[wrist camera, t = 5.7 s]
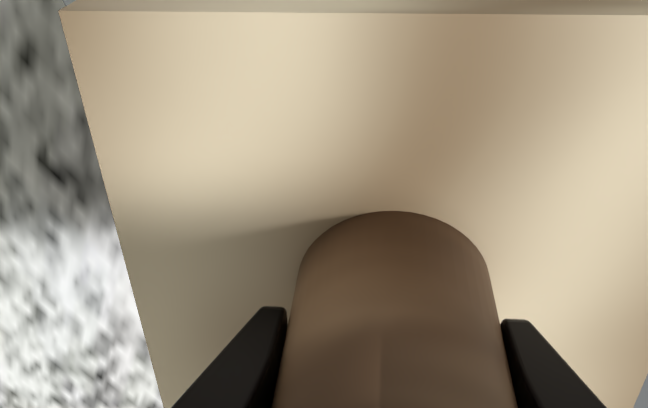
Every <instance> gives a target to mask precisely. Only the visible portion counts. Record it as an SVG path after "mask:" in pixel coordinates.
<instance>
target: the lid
mask: <svg viewBox="0 0 648 408" xmlns="http://www.w3.org/2000/svg"><path fill="white" fill-rule="evenodd" d="M58 12H59V16H60V19H61V23H62V27H63V31H64V34H65V38H66V42H67V46H68V49H69V53H70V57H71V61H72V64H73V68H74V72H75V76H76V79H77V83H78V87H79V91H80V95H81V98H82V102H83V106H84V110H85V113H86V117H87V121H88V125H89V128H90V132H91V136H92V140H93V143H94V147H95V151H96V155H97V158H98V162H99V166H100V170H101V173H102V177H103V181H104V185H105V189H106V192H107V196H108V200H109V204H110V207H111V211H112V215H113V219H114V222H115V226H116V230H117V234H118V237H119V241H120V245H121V249H122V252H123V256H124V260H125V264H126V268H127V271H128V275H129V279H130V283H131V286H132V290H133V294H134V298H135V301H136V305H137V309H138V313H139V316H140V320H141V324H142V328H143V331H144V335H145V339H146V343H147V346H148V350H149V354H150V358H151V362H152V365H153V369H154V373H155V377H156V380H157V384H158V388H159V392H160V395H161V399H162V403H163V407H164V408H171V407H172V406H173V405H174V404H175V402H176V401H177V400H178V399H179V398H180V397H181V396H182V395H183V394H184V392H185V391H186V390H187V389H188V388H189V387H190V386H191V385H192V383H193V382H194V381H195V380H196V379H197V378H198V377H199V376H200V375H201V373H202V372H203V371H204V370H205V369H206V368H207V367H208V366H209V364H210V363H211V362H212V361H213V360H214V359H215V358H216V357H217V356H218V354H219V353H220V352H221V351H222V350H223V349H224V348H225V347H226V346H227V344H228V343H229V342H230V341H231V340H232V339H233V338H234V337H235V335H236V334H237V333H238V332H239V331H240V330H241V329H242V328H243V327H244V325H245V324H246V323H247V322H248V321H249V320H250V319H251V318H252V316H253V315H254V314H255V313H256V312H257V311H258V310H259V309H260V308H261V307H263V306H276V307H284V308H285V309H286V311H287V320H288V327H287V332H286V337H285V342H284V347H283V352H282V357H281V362H280V367H279V372H278V377H277V382H276V387H275V392H274V397H273V402H272V407H271V408H518V405H517V400H516V396H515V391H514V387H513V382H512V377H511V373H510V368H509V363H508V359H507V354H506V350H505V345H504V340H503V336H502V331H501V326H500V324H501V322H502V320H504V319H525V320H528V321H529V322H531V323H532V324H533V325H534V327H535V328H536V329H537V330H538V331H539V332H540V333H541V334H542V335H543V337H544V338H545V339H546V340H547V341H548V342H549V343H550V344H551V346H552V347H553V348H554V349H555V350H556V351H557V352H558V353H559V355H560V356H561V357H562V358H563V359H564V360H565V361H566V362H567V364H568V365H569V366H570V367H571V368H572V369H573V370H574V371H575V373H576V374H577V375H578V376H579V377H580V378H581V379H582V380H583V382H584V383H585V384H586V385H587V386H588V387H589V388H590V389H591V390H592V392H593V393H594V394H595V395H596V396H597V397H598V398H599V399H600V401H601V402H602V403H603V404H604V405H605V406H606V407H607V408H633V407H634V404H635V402H636V400H637V397H638V395H639V393H640V390H641V388H642V386H643V383H644V381H645V379H646V376H647V374H648V0H76V1H74V2H72V3H71V4H69V5H67V6H66V7H64V8H62V9H61V10H59V11H58Z"/></svg>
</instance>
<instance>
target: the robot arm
mask: <svg viewBox="0 0 648 408" xmlns="http://www.w3.org/2000/svg"><path fill="white" fill-rule="evenodd" d="M500 326H501V331H502V336H503V340H504V345H505V350H506V354H507V359H508V363H509V368H510V373H511V377H512V382H513V387H514V391H515V396H516V400H517V405H518V408H607V407H606V406H605V405H604V404H603V403H602V402H601V401H600V399H599V398H598V397H597V396H596V395H595V394H594V393H593V392H592V390H591V389H590V388H589V387H588V386H587V385H586V384H585V383H584V382H583V380H582V379H581V378H580V377H579V376H578V375H577V374H576V373H575V371H574V370H573V369H572V368H571V367H570V366H569V365H568V364H567V362H566V361H565V360H564V359H563V358H562V357H561V356H560V355H559V353H558V352H557V351H556V350H555V349H554V348H553V347H552V346H551V344H550V343H549V342H548V341H547V340H546V339H545V338H544V337H543V335H542V334H541V333H540V332H539V331H538V330H537V329H536V328H535V327H534V325H533V324H532V323H531V322H529V321H528V320H525V319H504V320H502V322H501V324H500ZM287 327H288V320H287V311H286V309H285V308H284V307H276V306H263V307H261V308H260V309H259V310H258V311H257V312H256V313H255V314H254V315H253V316H252V318H251V319H250V320H249V321H248V322H247V323H246V324H245V325H244V327H243V328H242V329H241V330H240V331H239V332H238V333H237V334H236V335H235V337H234V338H233V339H232V340H231V341H230V342H229V343H228V344H227V346H226V347H225V348H224V349H223V350H222V351H221V352H220V353H219V354H218V356H217V357H216V358H215V359H214V360H213V361H212V362H211V363H210V364H209V366H208V367H207V368H206V369H205V370H204V371H203V372H202V373H201V375H200V376H199V377H198V378H197V379H196V380H195V381H194V382H193V383H192V385H191V386H190V387H189V388H188V389H187V390H186V391H185V392H184V394H183V395H182V396H181V397H180V398H179V399H178V400H177V401H176V402H175V404H174V405H173V406H172V407H171V408H271V407H272V402H273V397H274V392H275V387H276V382H277V377H278V372H279V367H280V362H281V357H282V352H283V347H284V342H285V337H286V332H287Z"/></svg>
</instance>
